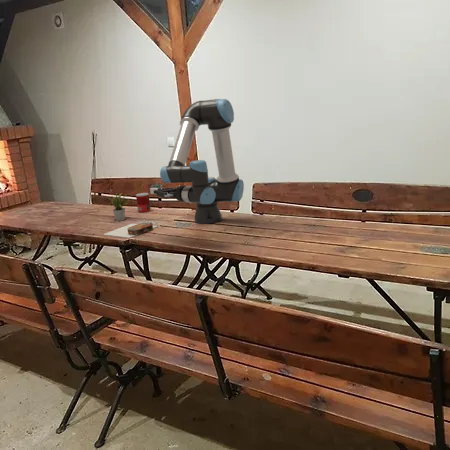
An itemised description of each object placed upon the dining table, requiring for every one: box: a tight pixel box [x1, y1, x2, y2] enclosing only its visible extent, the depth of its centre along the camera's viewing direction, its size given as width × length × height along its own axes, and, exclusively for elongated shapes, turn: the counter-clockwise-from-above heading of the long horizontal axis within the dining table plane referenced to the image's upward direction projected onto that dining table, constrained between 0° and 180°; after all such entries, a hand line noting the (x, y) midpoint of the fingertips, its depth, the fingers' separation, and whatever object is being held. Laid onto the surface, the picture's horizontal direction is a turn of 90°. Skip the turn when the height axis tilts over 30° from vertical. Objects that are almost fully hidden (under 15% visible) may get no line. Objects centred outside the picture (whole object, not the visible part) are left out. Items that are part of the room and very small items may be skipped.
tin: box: [127, 222, 154, 236], centre depth 240 cm, size 15×3×8 cm
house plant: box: [107, 192, 131, 221], centre depth 269 cm, size 14×14×16 cm
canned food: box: [135, 192, 152, 213], centre depth 287 cm, size 8×8×11 cm
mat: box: [102, 223, 158, 239], centre depth 244 cm, size 19×22×1 cm
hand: (151, 190), depth 227 cm, fingers closed
